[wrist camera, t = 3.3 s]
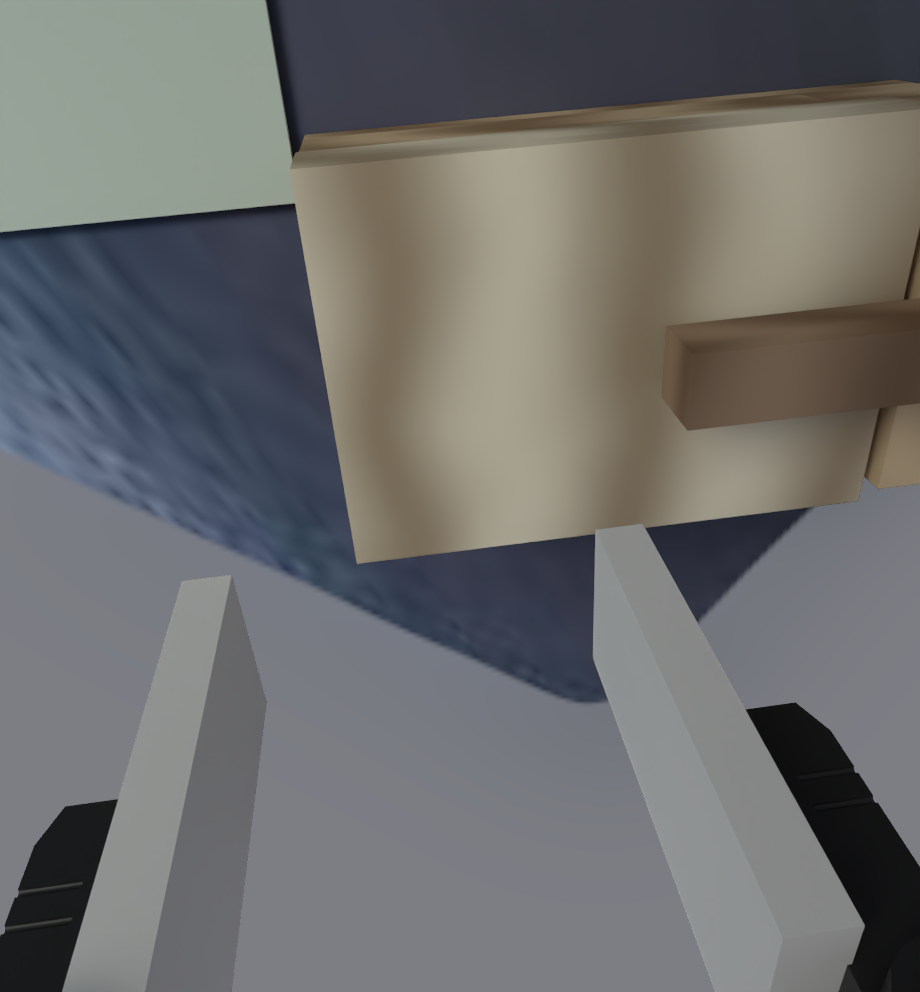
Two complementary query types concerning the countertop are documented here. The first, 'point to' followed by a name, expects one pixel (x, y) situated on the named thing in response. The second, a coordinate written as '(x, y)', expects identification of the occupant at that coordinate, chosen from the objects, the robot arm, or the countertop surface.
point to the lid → (589, 314)
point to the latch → (793, 364)
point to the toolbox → (900, 429)
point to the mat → (138, 110)
